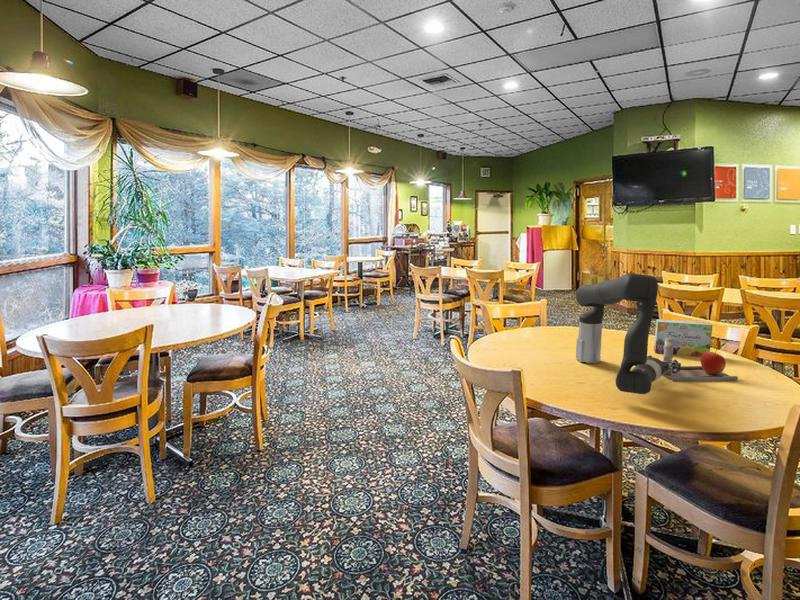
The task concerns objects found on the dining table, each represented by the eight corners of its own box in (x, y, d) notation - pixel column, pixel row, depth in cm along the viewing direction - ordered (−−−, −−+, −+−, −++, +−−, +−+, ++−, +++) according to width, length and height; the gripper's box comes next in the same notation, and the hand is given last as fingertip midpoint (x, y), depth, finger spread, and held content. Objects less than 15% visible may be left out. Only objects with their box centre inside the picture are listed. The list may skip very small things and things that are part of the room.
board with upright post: (669, 379, 178) (672, 342, 176) (655, 371, 188) (658, 336, 185) (733, 379, 178) (737, 341, 175) (716, 370, 187) (719, 335, 185)
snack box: (655, 353, 214) (657, 321, 211) (653, 350, 219) (656, 318, 216) (709, 357, 206) (712, 324, 203) (706, 354, 211) (709, 321, 208)
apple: (696, 369, 187) (698, 345, 186) (719, 371, 185) (721, 346, 184) (703, 376, 180) (705, 350, 178) (727, 377, 178) (730, 352, 176)
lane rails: (673, 381, 176) (673, 377, 176) (654, 370, 190) (654, 366, 189) (737, 380, 176) (738, 376, 176) (714, 369, 189) (714, 366, 189)
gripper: (672, 364, 159) (685, 353, 171) (628, 356, 169) (643, 347, 181) (671, 385, 161) (683, 373, 172) (627, 376, 170) (642, 365, 182)
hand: (663, 360), depth 176 cm, fingers open, 8 cm apart
